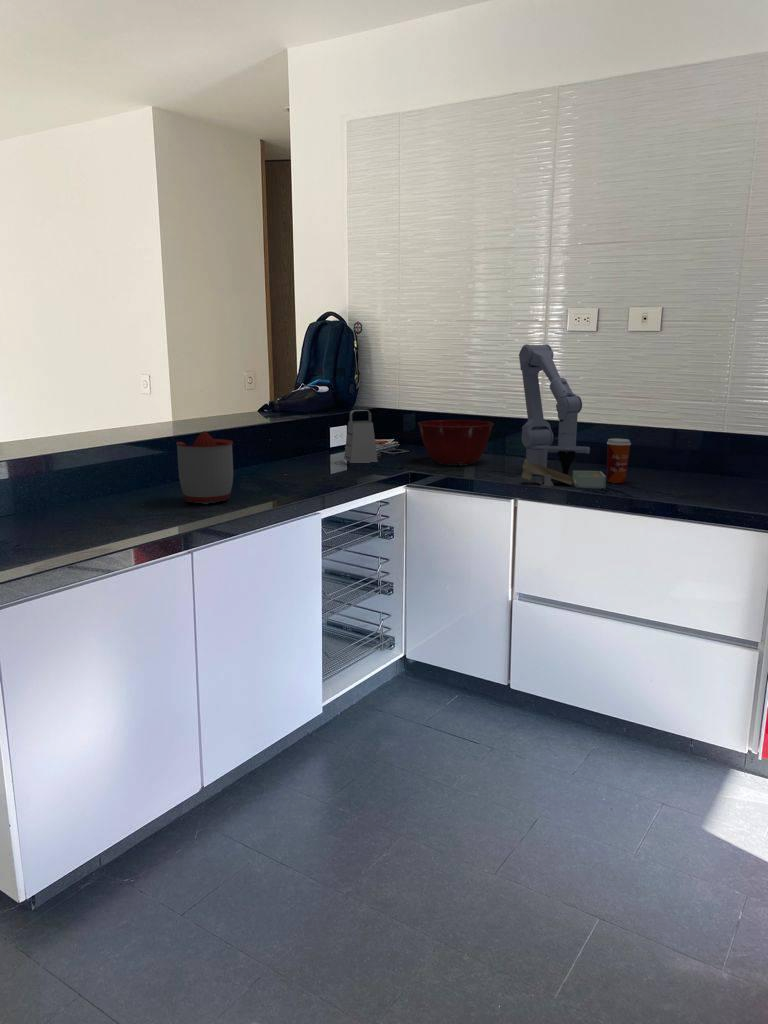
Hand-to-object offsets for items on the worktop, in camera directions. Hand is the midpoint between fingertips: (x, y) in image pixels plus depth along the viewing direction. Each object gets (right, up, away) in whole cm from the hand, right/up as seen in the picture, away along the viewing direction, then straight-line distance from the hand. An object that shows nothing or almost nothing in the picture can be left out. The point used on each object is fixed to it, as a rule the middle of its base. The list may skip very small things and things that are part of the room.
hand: (565, 474), depth 246 cm
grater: (-69, +6, +35) cm, 77 cm away
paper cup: (+16, -3, -2) cm, 17 cm away
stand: (-7, -3, -5) cm, 10 cm away
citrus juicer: (-111, -9, -33) cm, 116 cm away
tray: (+6, -4, -7) cm, 10 cm away
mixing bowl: (-33, +6, +37) cm, 50 cm away
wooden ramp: (-8, -2, -2) cm, 8 cm away
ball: (+7, -1, -8) cm, 10 cm away
